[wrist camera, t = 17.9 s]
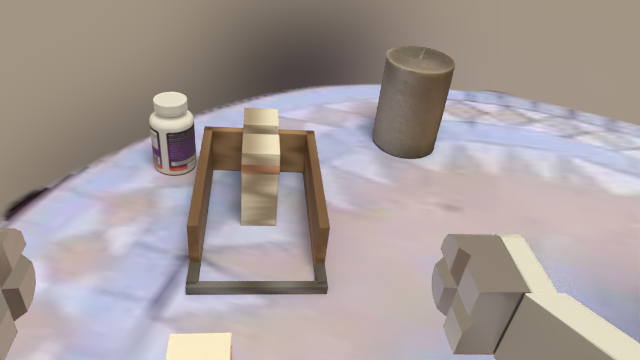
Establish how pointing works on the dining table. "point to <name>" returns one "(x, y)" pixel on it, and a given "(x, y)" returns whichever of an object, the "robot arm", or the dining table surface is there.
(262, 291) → the dispenser
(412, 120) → the pillar candle
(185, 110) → the pill bottle
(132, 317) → the dining table surface
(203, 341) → the banded cream pillar
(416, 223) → the dining table surface
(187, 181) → the dining table surface
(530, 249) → the robot arm
